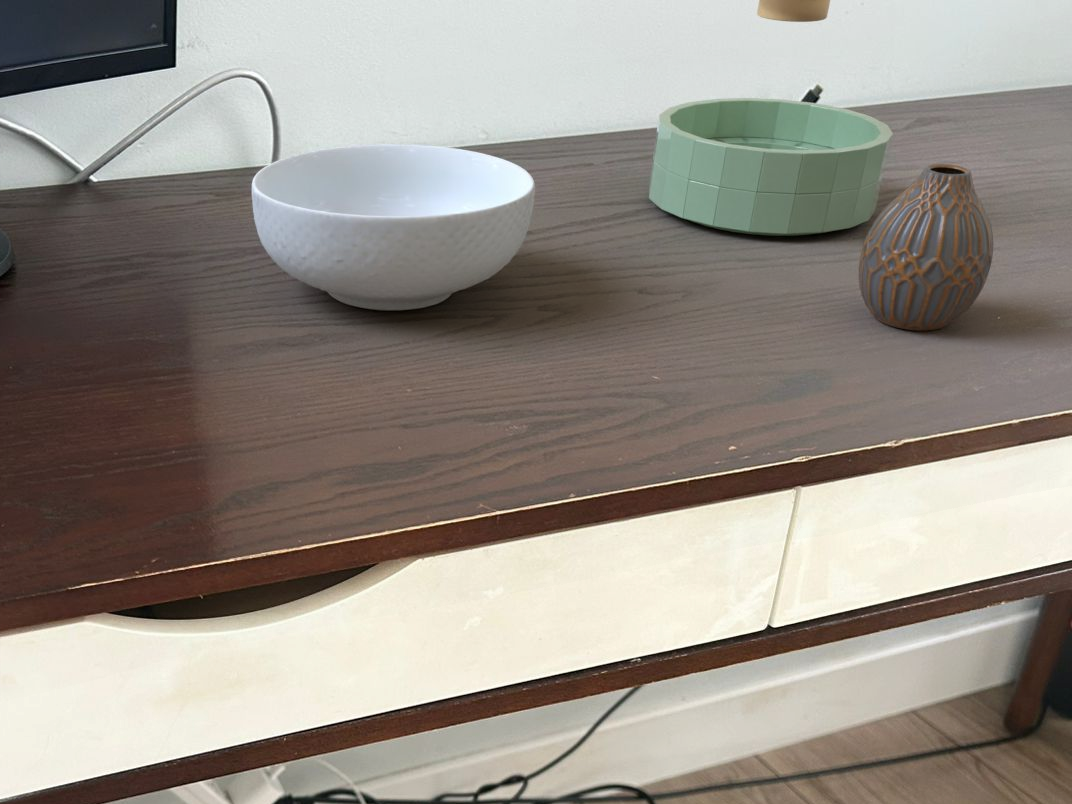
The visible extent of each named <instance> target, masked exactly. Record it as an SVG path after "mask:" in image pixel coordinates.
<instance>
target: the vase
mask: <svg viewBox="0 0 1072 804" xmlns="http://www.w3.org/2000/svg"><path fill="white" fill-rule="evenodd" d="M993 257H994V232H993V227H992V224H991V221H990V218H989V215H988V213H987V211H986V209H985V208H984V206H983V203H982V202H981V200H980V198H979V196H978V194H977V192H976V189H975V186H974V181H973V174H972V171H971V170H970V169H969V168H966V167H965V166H962V165H961V166H960V165H956V164H948V163H933V164H929V165H926V166H925V167H924V168H923V169H922V170H921V172H920V174H919V175H918V177H917V178H916V179H915V180H914V181H913V182H912V184H910V185H909V186H908V187H907V188H906V189H905V190H903V191H902V192H901V193H900V194H899V195H897V196H896V197H895V198H894V199H892V200H891V202H890V203H888V204H887V205H886V206H885V207H884V208H883V209H882V210H881V212H880V213H879V214H878V215H877V217H876V219H875V220H874V222H873V223H872V225H871V227H870V229H869V230H868V232H867V235H866V237H865V239H864V242H863V243H862V249H861V252H860V257H859V263H858V285H859V291H860V295H861V298H862V300H863V302H864V304H865V306H866V308H867V309H868V310H869V312H870V313H871V314H872V316H873V317H874V318H875V319H876V320H878V321H879V322H881V323H882V324H885V325H887V326H889V327H890V326H891V327H893V328H897V329H902V330H908V331H921V332H922V331H925V332H926V331H935V330H939V329H942V328H944V327H946V326H947V325H950V324H951V323H953V322H954V321H956V320H958V319H959V318H960V317H962V316H963V315H964V314H965V313H966V312H968V310H969V309H970V308H971V307H972V306H973V304H974V303H975V302H976V300H977V298H978V297H979V295H980V294H981V292H982V290H983V288H984V286H985V284H986V281H987V279H988V276H989V273H990V271H991V270H990V269H991V266H992V262H993Z"/></svg>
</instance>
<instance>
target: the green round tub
mask: <svg viewBox="0 0 1072 804" xmlns="http://www.w3.org/2000/svg"><path fill="white" fill-rule="evenodd" d="M656 126H657V127H656V133H655V140H654V147H653V153H652V162H651V168H650V173H649V174H650V176H649V181H648V199H649V200H650V201H651V202H652V203H653V204H654V205H656V206H657V207H658V208H659V209H661V210H662V211H665V212H667V213H669V214H671V215H674V216H676V217H678V218H681V219H683V220H687V221H689V222H692V223H695V224H696V225H697V224H698V225H701V226H704V227H707V228H712V229H715V230H716V229H717V230H721V231H726V232H732V233H739V234H747V235H756V236H770V237H771V236H774V237H783V236H784V237H792V236H793V237H794V236H809V235H816V234H823V233H828V232H833V231H841V230H845V229H852V228H854V227H856V226H858V225H861V224H863V223H866V222H869V220H870V219H871V218H872V216H873V215H874V213H875V212H876V208H877V204H878V200H879V196H880V192H881V187H882V184H883V179H884V175H885V174H884V173H885V171H886V166H887V162H888V157H889V153H890V149H891V145H892V140H893V136H894V133H893V132H892V130H891V129H890V126H889V125H888V124H886V123H884V122H883V121H880V120H879V119H876V118H875V117H872V116H870V115H867V114H864V113H861V112H857V111H854V110H851V109H848V108H842V107H837V106H833V105H826V104H821V103H817V102H809V101H801V100H800V101H799V100H790V99H780V98H778V99H777V98H757V97H733V98H731V97H730V98H713V99H704V100H695V101H688V102H684V103H682V104H681V103H680V104H678V105H674V106H669V107H668V108H667V109H665V110H664V111H663V112H661V113H660V114H659V115H658V119H657V125H656Z"/></svg>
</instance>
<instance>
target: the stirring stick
mask: <svg viewBox="0 0 1072 804" xmlns="http://www.w3.org/2000/svg"><path fill="white" fill-rule="evenodd" d="M830 4H831V0H758V4H757V12H756V16H758V17H760V18H763V19H767V20H772V21H779V22H792V23H810V22H820V21H823V20H826V19H827V18H828V14H829V8H830Z"/></svg>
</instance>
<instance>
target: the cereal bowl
mask: <svg viewBox="0 0 1072 804" xmlns="http://www.w3.org/2000/svg"><path fill="white" fill-rule="evenodd" d="M535 183H536V182H535V180H534V178H533V176H532V175H531V174H530V173H529V171H527V170H526V169H525V168H523V167H522V166H520V165H518V164H516V163H514V162H511V161H509V160H507V159H504V158H500V157H497V156H494V155H491V154H486V153H482V152H479V151H478V152H477V151H474V150H469V149H462V148H456V147H455V148H454V147H447V146H446V147H445V146H439V145H425V144H409V143H408V144H403V143H402V144H401V143H382V144H380V143H377V144H375V143H374V144H361V145H360V144H358V145H346V146H338V147H337V146H336V147H329V148H321V149H316V150H315V149H314V150H311V151H306V152H302V153H297V154H294V155H290V156H287V157H284V158H280V159H278V160H275V161H273V162H271V163H269V164H268V165H266V166H263V168H261V169H260V170H259V171H258V172H256V174H255V175H254V177H253V179H252V181H251V200H252V201H251V203H252V204H251V206H252V212H253V220H254V224H255V229H256V231H257V235H258V238H259V240H260V244H261V245H262V247H263V248H264V250H265V251H266V253H267V254H268V256H269V257H270V258H271V260H272V261H273V262H274V263H275V264H276V265H277V266H278V267H279V268H280V269H282V270H283V271H284V272H285V273H287V274H288V275H289V276H290V277H292V278H294V279H296V280H298V281H299V282H301V283H304V284H306V285H307V286H311V287H313V288H314V289H319V290H321V291H324V292H326V293H327V294H328V295H329V296H331V297H332V298H333V299H335V300H336V301H338V302H341V303H342V304H345V305H348V306H351V307H356V308H361V309H366V310H373V311H375V310H376V311H408V310H418V309H424V308H428V307H431V306H435V305H437V304H440V303H442V302H444V301H445V300H447V299H448V298H449V297H450V296H452V294H453V293H456V292H458V291H462V290H466V289H468V288H471V287H473V286H475V285H478V284H480V283H483V282H484V281H486V280H489V279H490V278H491V277H492V276H495V275H496V274H498V272H499V271H501V270H503V269H504V268H505V266H506V265H508V264H509V263H510V262H511V261H512V259H513V258H514V257H515V256H516V255H517V254H518V252H519V250H520V248H521V247H522V245H523V244H524V241H525V239H526V237H527V233H528V230H529V227H530V225H531V223H532V222H531V219H532V217H533V212H534V210H533V209H534V203H535V193H536V184H535Z"/></svg>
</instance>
